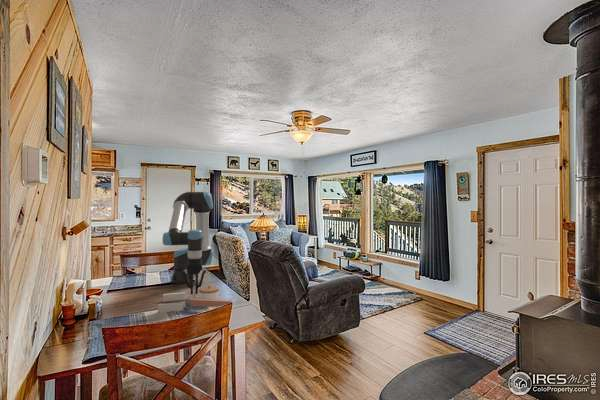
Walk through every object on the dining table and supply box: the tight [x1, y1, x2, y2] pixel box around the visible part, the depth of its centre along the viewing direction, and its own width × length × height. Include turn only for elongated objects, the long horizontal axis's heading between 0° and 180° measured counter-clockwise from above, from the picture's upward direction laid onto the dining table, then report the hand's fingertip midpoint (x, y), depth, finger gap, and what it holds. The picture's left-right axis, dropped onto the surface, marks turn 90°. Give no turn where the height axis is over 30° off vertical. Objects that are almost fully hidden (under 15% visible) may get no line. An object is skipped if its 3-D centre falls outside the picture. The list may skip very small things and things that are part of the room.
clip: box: [184, 297, 233, 308], centre depth 158 cm, size 25×3×3 cm, turn 83°
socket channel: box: [157, 292, 191, 314], centre depth 166 cm, size 20×16×4 cm
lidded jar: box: [198, 285, 220, 300], centre depth 172 cm, size 11×11×9 cm
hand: (194, 299), depth 169 cm, fingers closed
